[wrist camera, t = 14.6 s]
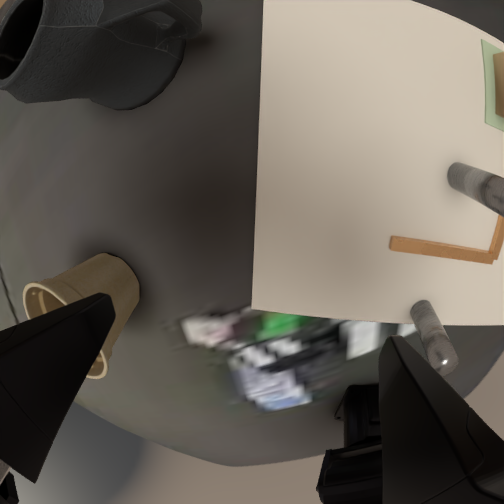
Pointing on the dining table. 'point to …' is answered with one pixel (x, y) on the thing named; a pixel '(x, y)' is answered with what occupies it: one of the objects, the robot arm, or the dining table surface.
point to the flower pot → (81, 286)
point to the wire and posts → (422, 313)
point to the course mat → (373, 161)
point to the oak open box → (499, 83)
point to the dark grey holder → (94, 49)
